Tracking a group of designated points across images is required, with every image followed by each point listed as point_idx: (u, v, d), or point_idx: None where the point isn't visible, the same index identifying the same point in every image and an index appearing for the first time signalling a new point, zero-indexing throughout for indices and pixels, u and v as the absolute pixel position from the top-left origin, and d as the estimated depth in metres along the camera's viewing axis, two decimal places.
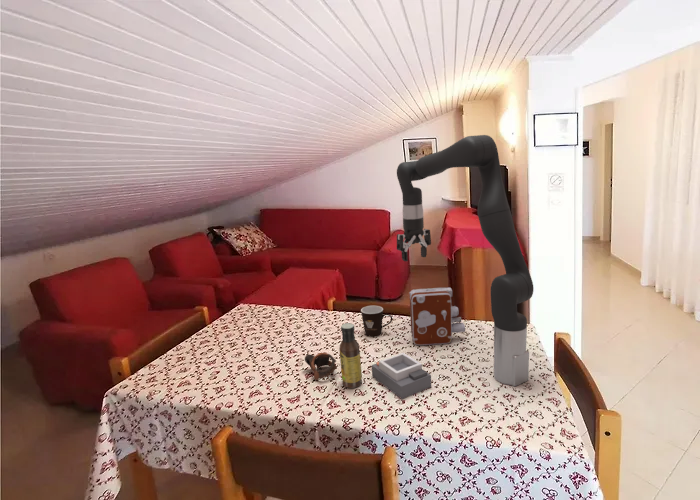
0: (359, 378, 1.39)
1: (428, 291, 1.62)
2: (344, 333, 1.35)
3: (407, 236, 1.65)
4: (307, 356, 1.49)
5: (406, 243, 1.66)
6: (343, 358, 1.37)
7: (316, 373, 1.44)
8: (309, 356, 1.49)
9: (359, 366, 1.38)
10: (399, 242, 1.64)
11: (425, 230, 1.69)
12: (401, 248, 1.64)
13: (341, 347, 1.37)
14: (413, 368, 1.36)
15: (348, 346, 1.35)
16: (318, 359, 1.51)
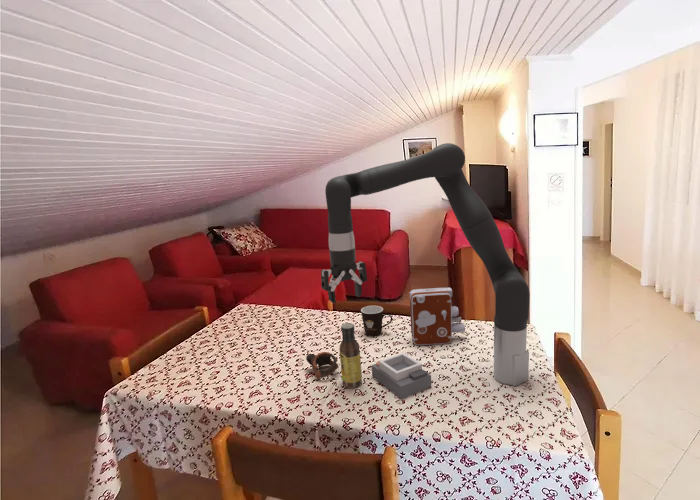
0: (359, 378, 1.39)
1: (428, 291, 1.62)
2: (344, 333, 1.35)
3: (334, 272, 1.30)
4: (308, 355, 1.50)
5: (333, 280, 1.31)
6: (343, 358, 1.37)
7: (318, 372, 1.44)
8: (311, 355, 1.49)
9: (359, 366, 1.38)
10: (323, 280, 1.29)
11: (359, 263, 1.34)
12: (326, 287, 1.29)
13: (341, 347, 1.37)
14: (413, 368, 1.36)
15: (348, 346, 1.35)
16: (319, 358, 1.51)
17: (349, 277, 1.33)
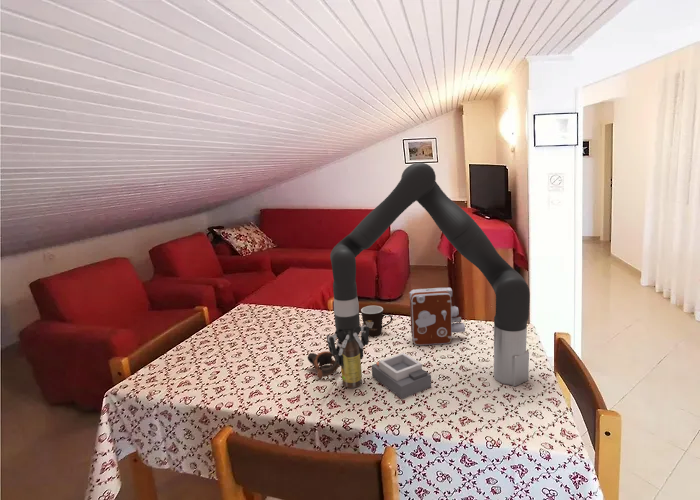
0: (359, 378, 1.39)
1: (428, 291, 1.62)
2: None
3: (339, 337, 1.35)
4: (310, 354, 1.50)
5: (340, 344, 1.36)
6: (343, 358, 1.37)
7: (319, 371, 1.45)
8: (312, 355, 1.50)
9: (359, 366, 1.38)
10: (330, 345, 1.34)
11: (363, 326, 1.39)
12: (334, 352, 1.34)
13: None
14: (413, 368, 1.36)
15: (349, 345, 1.35)
16: (321, 358, 1.52)
17: None
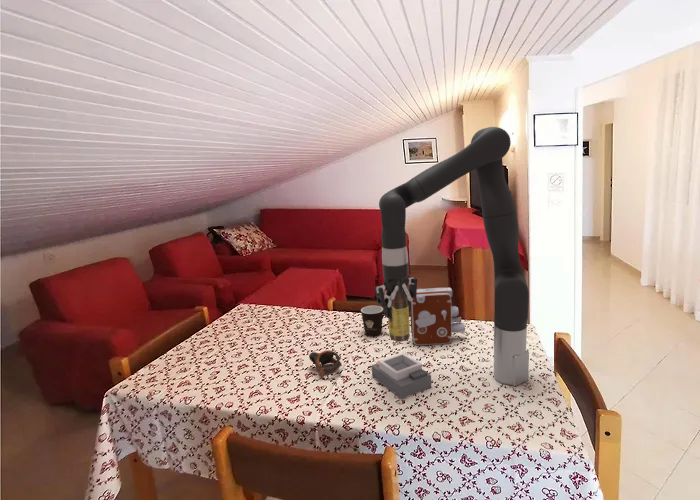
0: (408, 331, 1.35)
1: (428, 291, 1.62)
2: None
3: (388, 288, 1.31)
4: (312, 354, 1.51)
5: (388, 296, 1.32)
6: (392, 310, 1.32)
7: (321, 370, 1.45)
8: (314, 354, 1.50)
9: (408, 319, 1.34)
10: (379, 296, 1.30)
11: (411, 278, 1.35)
12: (383, 303, 1.30)
13: None
14: (413, 368, 1.36)
15: (398, 297, 1.31)
16: (322, 357, 1.52)
17: None
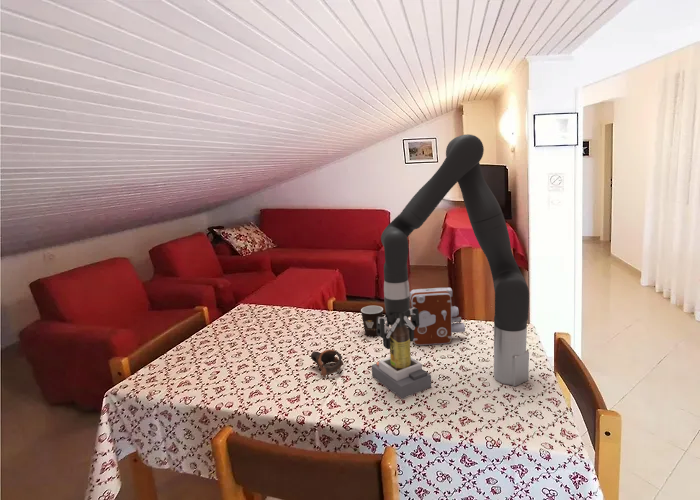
0: (409, 364, 1.37)
1: (428, 291, 1.62)
2: None
3: (389, 319, 1.33)
4: (313, 353, 1.51)
5: (388, 327, 1.34)
6: (393, 343, 1.35)
7: (323, 369, 1.46)
8: (315, 353, 1.51)
9: (409, 351, 1.37)
10: (379, 327, 1.32)
11: (412, 309, 1.37)
12: (382, 334, 1.32)
13: None
14: (413, 368, 1.36)
15: (399, 330, 1.34)
16: (324, 356, 1.53)
17: None
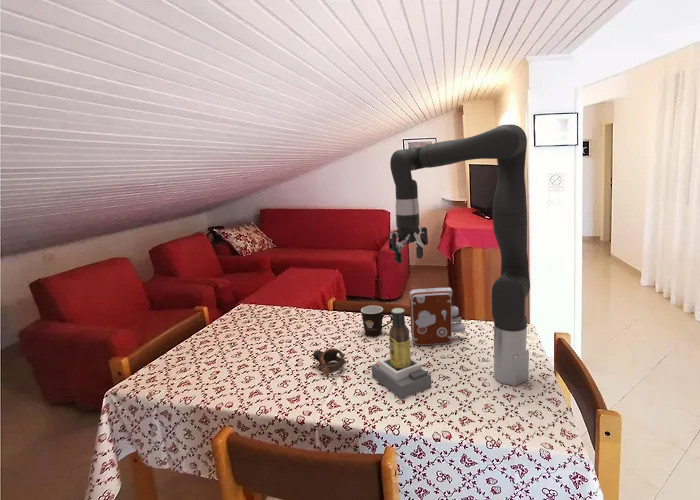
0: (409, 364, 1.37)
1: (428, 291, 1.62)
2: (395, 318, 1.34)
3: (401, 235, 1.45)
4: (316, 352, 1.52)
5: (399, 243, 1.46)
6: (393, 343, 1.35)
7: (326, 368, 1.47)
8: (318, 352, 1.52)
9: (409, 351, 1.37)
10: (391, 241, 1.44)
11: (421, 228, 1.49)
12: (394, 248, 1.44)
13: (391, 332, 1.35)
14: (413, 368, 1.36)
15: (399, 330, 1.34)
16: (326, 355, 1.54)
17: (413, 240, 1.47)
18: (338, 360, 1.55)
